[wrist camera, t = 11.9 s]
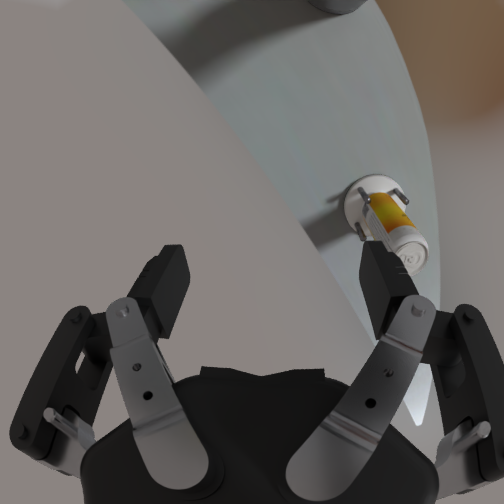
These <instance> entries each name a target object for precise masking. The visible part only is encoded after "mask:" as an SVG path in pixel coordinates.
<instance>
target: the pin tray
mask: <svg viewBox="0 0 504 504" xmlns="http://www.w3.org/2000/svg"><path fill="white" fill-rule="evenodd" d="M378 192H383V193H386V194H388V195H390V196H391V197H392V198H393V200H394V201H395V202H396V203H397V204H398V206H399V207H400V208H401V209H402V210H403V212H405V206H406V205H407V204H408V203H409V200H408V199H407V198H406V197H405V196H404V193H403V191H402V189H401V187H400V186H399V185H398V184H397V183H396V182H395V181H394V180H393V179H391V178H390V177H388V176H385V175H381V174H372V175H367V176H365V177H362V178H361V179H359V180H357V181H356V182H355V183H354V184H353V185H352V186H351V187H350V189H349V190H348V192H347V194H346V197H345V200H344V213H345V216H346V218H347V221H348V223H349V224H350V226H351V227H352V228H353V229H354V230H355V231H356V232H357V233H358V235H359V237H360V240H361V241H365V240H366V236H372V234H371V232H370V230H369V228H368V226H367V225H366V223H365V221H364V219H363V217H362V213H361V209H362V205H363V203H364V201H365V203H366V204H370V203H371V199H370V197H369V196H370V195H372V194H374V193H378Z"/></svg>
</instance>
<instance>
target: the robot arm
mask: <svg viewBox="0 0 504 504" xmlns="http://www.w3.org/2000/svg"><path fill="white" fill-rule="evenodd" d="M308 1H309V2H310V3H311V4H313V5H314V6H316V7H317V8H319V9H321V10H323V11H326V12H329V13H334V14H346V13H350V12H353V11H355V10H356V9H358V8H359V7H360V6H361V5H362V4H363V3H365V2H366V1H367V0H308ZM359 280H360V285H361V288H362V291H363V295H364V298H365V301H366V305H367V308H368V312H369V315H370V319H371V323H372V326H373V330H374V334H375V338H376V340H379V342H378V344H377V345H376V347H375V349H374V350H373V352H372V354H371V355H370V357H369V359H368V360H367V362H366V363H365V365H364V366H363V368H362V369H361V371H360V373H359V374H358V376H357V377H356V379H355V380H354V382H353V383H352V384H351V386H348V385H346V384H344V383H342V382H340V381H337V380H334V379H331V378H327V377H325V373H324V369H294V370H289V371H285V372H281V373H276V374H271V375H266V376H257V375H253V374H250V373H246V372H242V371H238V370H235V369H231V368H217V367H204V366H202V367H201V371H200V375H195V376H191V377H188V378H185V379H182V380H180V381H178V382H175V380H174V378H173V376H172V374H171V372H170V370H169V368H168V366H167V364H166V361H165V359H164V357H163V355H162V353H161V351H160V348H159V346H158V345H157V342H158V339H159V338H165V339H169V337H170V334H171V331H172V328H173V326H174V323H175V320H176V318H177V315H178V313H179V310H180V308H181V305H182V302H183V300H184V297H185V295H186V292H187V289H188V287H189V283H190V272H189V268H188V264H187V260H186V256H185V252H184V249H183V247H182V245H165V246H164V247H163V249H162V250H161V252H160V254H159V255H158V256H154V257H153V258H152V259H151V260H150V261H148V262H147V264H146V265H145V267H144V268H143V271H142V272H141V273H140V275H139V278H137V280H136V281H135V283H134V285H133V286H132V288H131V290H130V292H129V293H128V295H127V297H124V298H120V299H118V300H116V301H114V302H113V303H111V304H110V305H109V307H108V308H107V310H106V312H103V313H97V314H91V312H90V310H89V309H88V308H87V307H86V306H77V307H74V308H72V309H71V310H70V311H68V312H67V314H66V315H65V316H64V318H63V319H62V321H61V323H60V325H59V326H58V328H57V330H56V331H55V333H54V335H53V337H52V338H51V340H50V342H49V344H48V346H47V348H46V350H45V351H44V353H43V355H42V357H41V359H40V361H39V363H38V365H37V367H36V369H35V371H34V373H33V375H32V377H31V379H30V381H29V383H28V386H27V388H26V390H25V392H24V394H23V397H22V399H21V401H20V404H19V406H18V408H17V411H16V413H15V416H14V419H13V421H12V424H11V427H10V433H9V435H10V440H11V442H12V444H13V446H14V447H15V448H17V449H18V450H20V451H22V452H23V453H25V454H27V455H28V456H30V457H31V458H32V459H34V460H36V461H37V462H39V463H41V464H43V465H45V466H47V467H48V468H50V469H53V470H56V471H58V472H61V473H63V474H65V475H68V476H72V475H73V476H75V477H77V478H80V479H81V484H82V488H83V494H84V504H435V501H436V500H438V499H441V498H444V497H447V496H450V495H453V494H465V493H467V492H470V491H473V490H475V489H478V488H480V487H483V486H485V485H488V484H490V483H492V482H494V481H497V480H499V479H501V478H503V477H504V364H503V361H502V359H501V356H500V354H499V351H498V349H497V346H496V344H495V342H494V339H493V337H492V335H491V333H490V330H489V328H488V326H487V324H486V322H485V320H484V318H483V316H482V314H481V312H480V311H479V310H478V309H477V308H475V307H474V306H472V305H469V304H461V305H459V306H457V307H456V309H455V311H454V313H449V312H443V311H438V310H436V308H435V306H434V304H433V303H432V302H431V301H430V300H429V299H427V298H425V297H423V296H420V295H419V293H418V291H417V289H416V287H415V285H414V283H413V281H412V279H411V277H410V275H409V274H408V271H407V269H406V268H405V266H404V264H403V262H402V260H401V258H400V257H398V256H397V255H396V254H395V253H394V252H388V251H387V249H386V247H385V245H384V244H383V242H382V241H381V240H378V241H365V242H364V245H363V251H362V257H361V263H360V269H359ZM81 351H82V352H83V353H84V354H85V357H84V359H83V362H82V364H81V366H80V368H79V370H78V373H77V374H76V371H75V365H76V362H77V360H78V358H79V356H80V353H81ZM419 363H425V364H430V367H431V371H432V375H433V379H434V383H435V387H436V391H437V396H438V401H439V406H440V411H441V417H442V423H443V428H444V436H445V437H443V438H442V440H441V441H440V443H439V445H438V448H437V455H436V461H435V464H433V463H432V462H431V460H430V459H428V458H427V457H426V456H425V455H424V454H423V453H422V452H421V451H419V449H417V448H416V447H415V446H414V445H413V444H412V443H411V442H410V441H409V440H408V439H406V438H405V437H404V436H403V435H402V434H401V433H400V432H399V431H398V430H397V429H396V428H394V427H393V426H392V425H391V424H390V422H391V420H392V418H393V416H394V415H395V413H396V411H397V409H398V407H399V405H400V403H401V401H402V399H403V397H404V395H405V393H406V391H407V389H408V387H409V385H410V383H411V381H412V379H413V377H414V374H415V372H416V370H417V368H418V365H419ZM113 366H114V369H115V373H116V377H117V380H118V383H119V387H120V390H121V393H122V396H123V399H124V402H125V405H126V408H127V411H128V414H129V417H130V418H129V419H127V420H126V421H125V422H123V423H122V424H120V425H119V426H118V427H116V428H115V429H114V430H112V431H111V432H110V433H108V434H107V435H105V436H104V437H103V438H101V439H100V440H99V441H97V442H96V440H95V439H94V438H95V437H94V431H93V429H92V425H93V423H94V419H95V416H96V413H97V410H98V407H99V404H100V401H101V398H102V395H103V393H104V390H105V387H106V384H107V381H108V379H109V376H110V373H111V370H112V368H113Z"/></svg>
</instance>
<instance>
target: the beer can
mask: <svg viewBox="0 0 504 504" xmlns="http://www.w3.org/2000/svg"><path fill="white" fill-rule="evenodd" d="M369 197H370V199H371V203H370V204H366V203H365V201H364V203H363V205H362V209H361V213H362V217H363V219H364V221H365V223H366V225H367V226H368V228H369V230H370V232H371V234H372V236H373V238H374V240H375V241H378V240H381V241H382V242H383V244H384V245H385V247H386V249H387V251H388V252H394V253H395V254H396V255H397V256H398V257H400V258H401V260H402V262H403V264H404V266H405V268H406V269H407V271H408V274H409V275H410V277H411V276H413V275H415V274H417V273H419V272H420V271H421V270H422V269H423V268H424V267H425V265H426V263H427V261H428V258H429V252H428V245H427V242H426V240H425V239H424V238H423V236H422V235H421V234H420V232H419V231H418V230H417V228H416V227H415V226H414V224H413V223H412V222H411V221H410V219H409V218H408V217H407V215H406V214H405V213H404V212H403V210H402V209H401V208H400V207H399V206H398V204H397V203H396V202H395V201H394V200H393V198H392V197H391V196H390V195H388V194H386V193H383V192H378V193H374V194H372V195H370V196H369Z"/></svg>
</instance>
